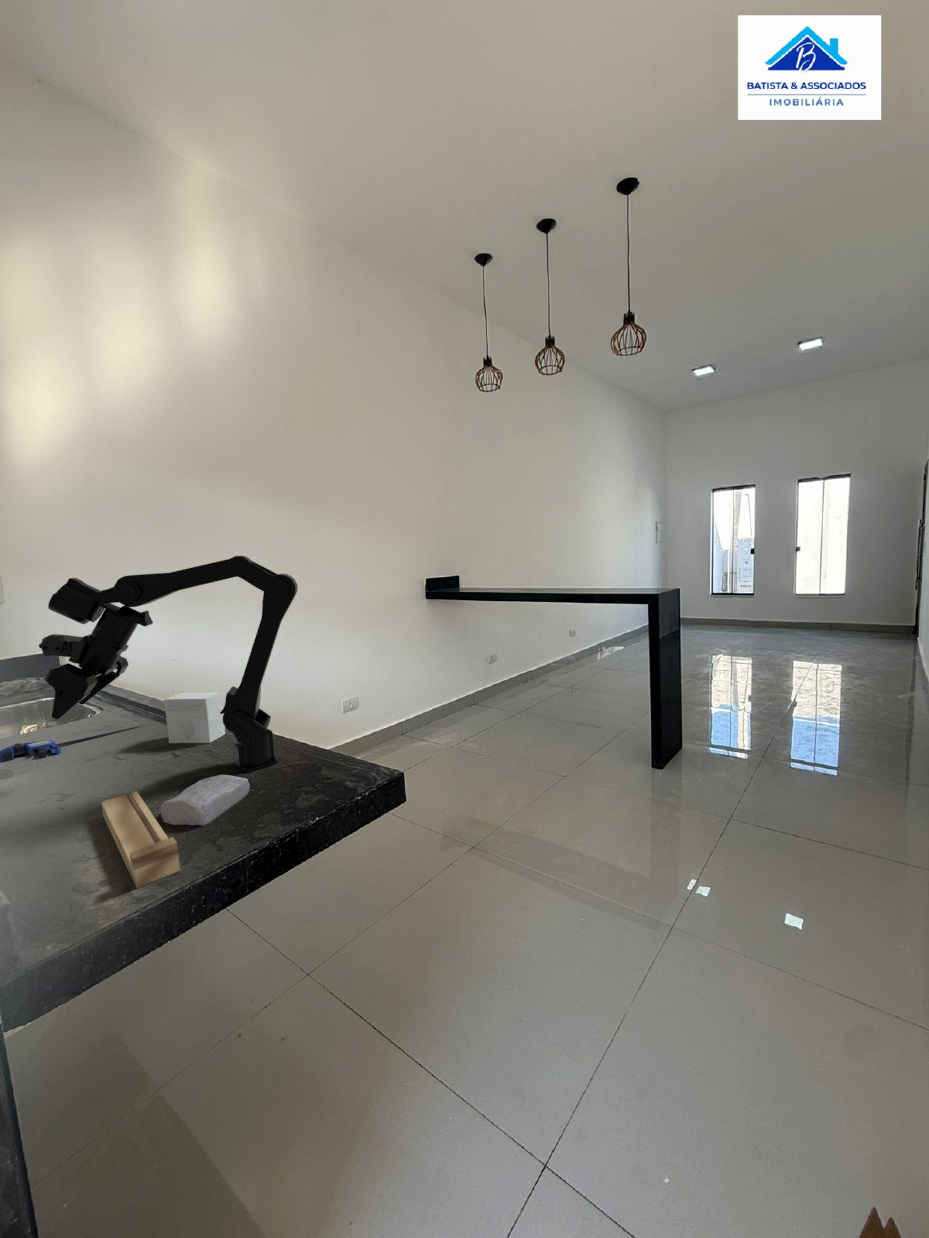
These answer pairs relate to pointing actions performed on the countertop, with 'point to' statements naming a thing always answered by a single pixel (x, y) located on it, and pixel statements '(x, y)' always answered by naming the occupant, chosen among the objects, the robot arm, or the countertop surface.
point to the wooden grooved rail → (140, 839)
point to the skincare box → (194, 717)
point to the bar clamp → (41, 747)
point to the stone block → (205, 800)
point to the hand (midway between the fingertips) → (68, 710)
